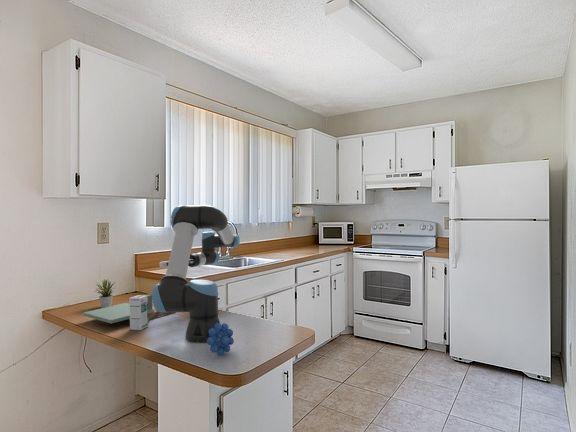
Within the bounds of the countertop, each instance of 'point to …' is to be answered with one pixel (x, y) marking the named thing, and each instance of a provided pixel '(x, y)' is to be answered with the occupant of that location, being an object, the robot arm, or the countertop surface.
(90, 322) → the countertop surface
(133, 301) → the syrup box
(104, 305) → the house plant
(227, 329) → the grapes
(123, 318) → the lid
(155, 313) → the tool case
